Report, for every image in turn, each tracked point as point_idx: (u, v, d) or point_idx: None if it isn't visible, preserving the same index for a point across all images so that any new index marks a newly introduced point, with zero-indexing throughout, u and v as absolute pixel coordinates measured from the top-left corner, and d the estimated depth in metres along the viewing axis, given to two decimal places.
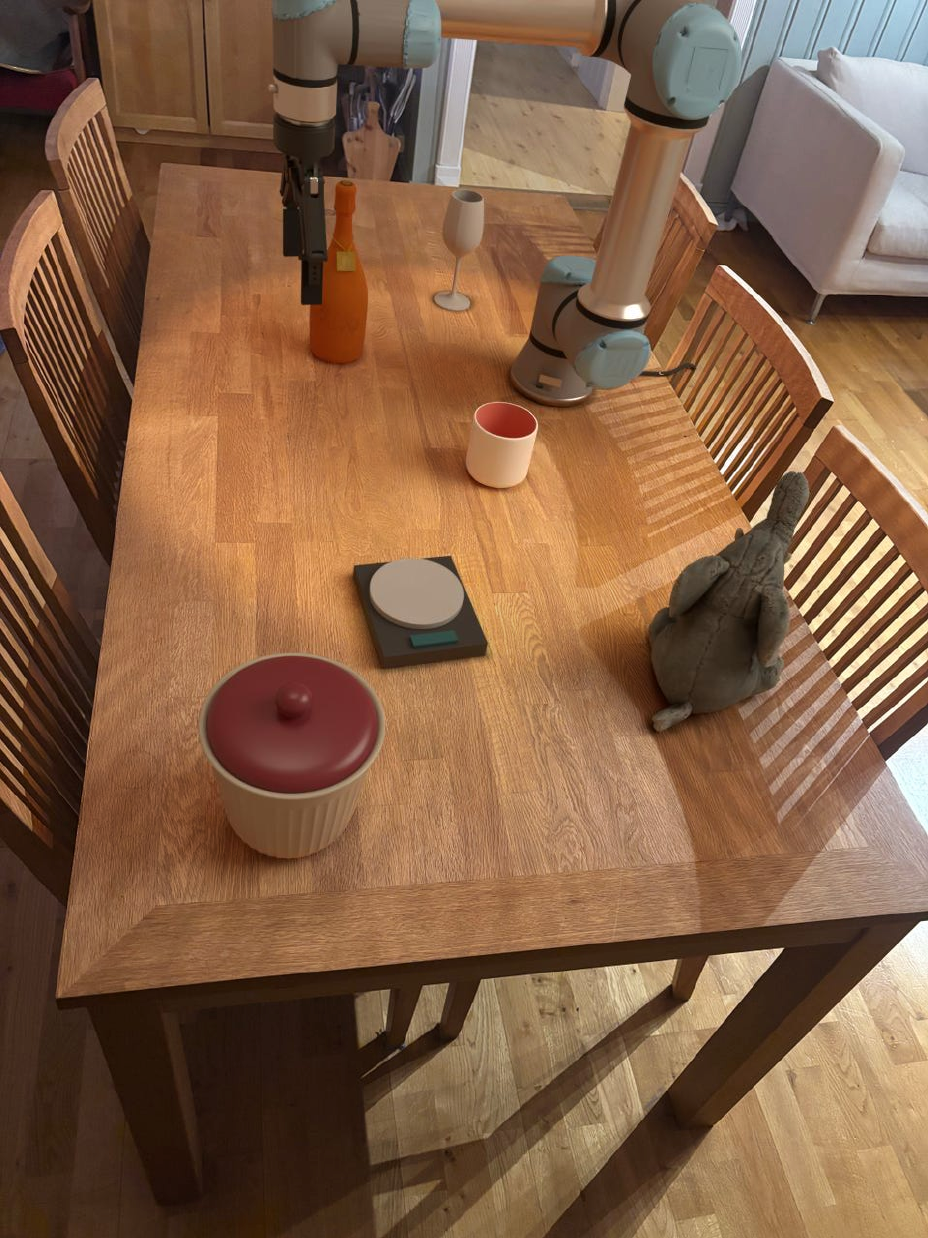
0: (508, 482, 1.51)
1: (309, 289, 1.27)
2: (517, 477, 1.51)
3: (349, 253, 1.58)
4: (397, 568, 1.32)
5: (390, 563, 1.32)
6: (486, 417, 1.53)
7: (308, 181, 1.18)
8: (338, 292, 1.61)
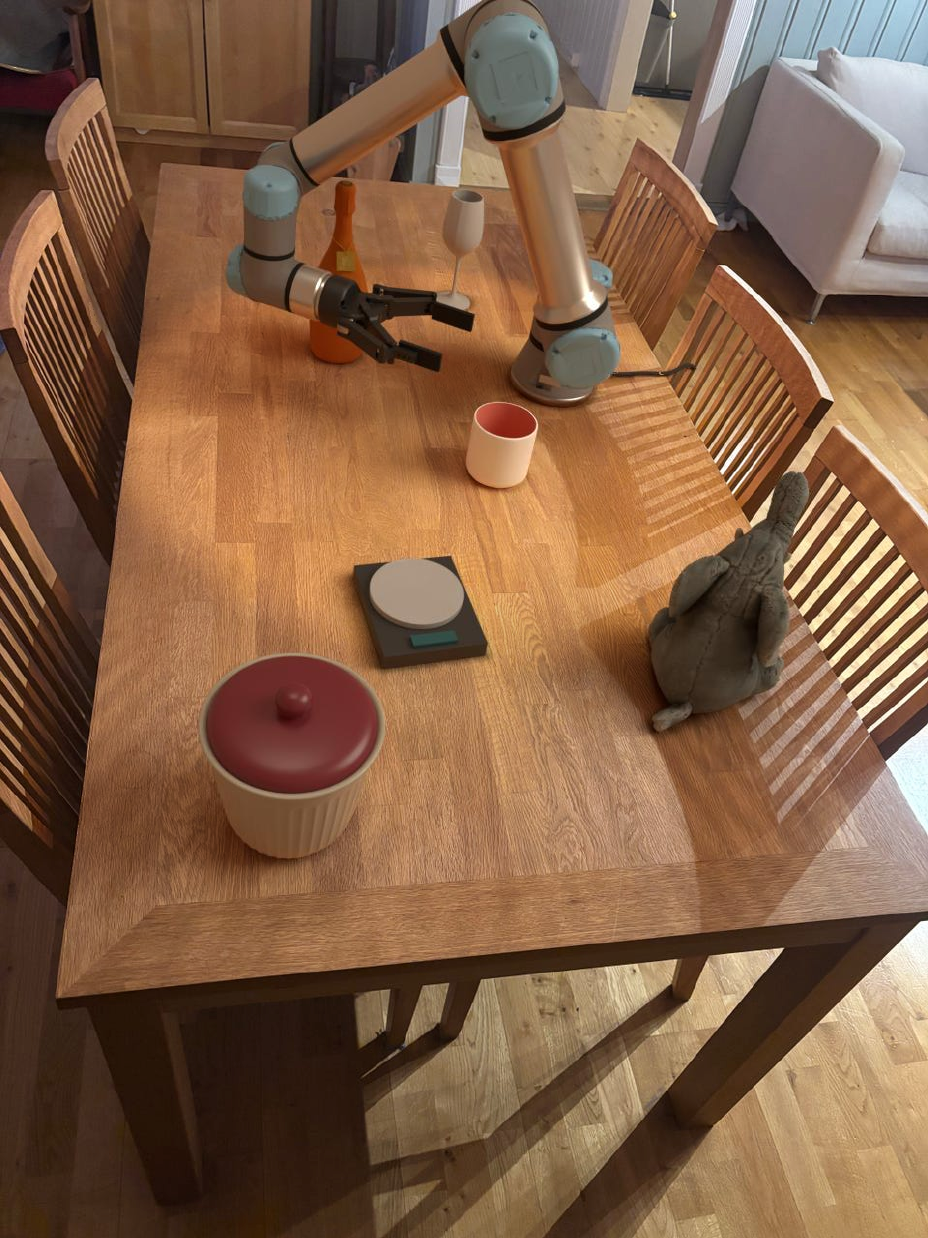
0: (508, 482, 1.51)
1: (425, 361, 1.38)
2: (517, 477, 1.51)
3: (349, 253, 1.58)
4: (397, 568, 1.32)
5: (390, 563, 1.32)
6: (486, 417, 1.53)
7: (338, 332, 1.41)
8: None
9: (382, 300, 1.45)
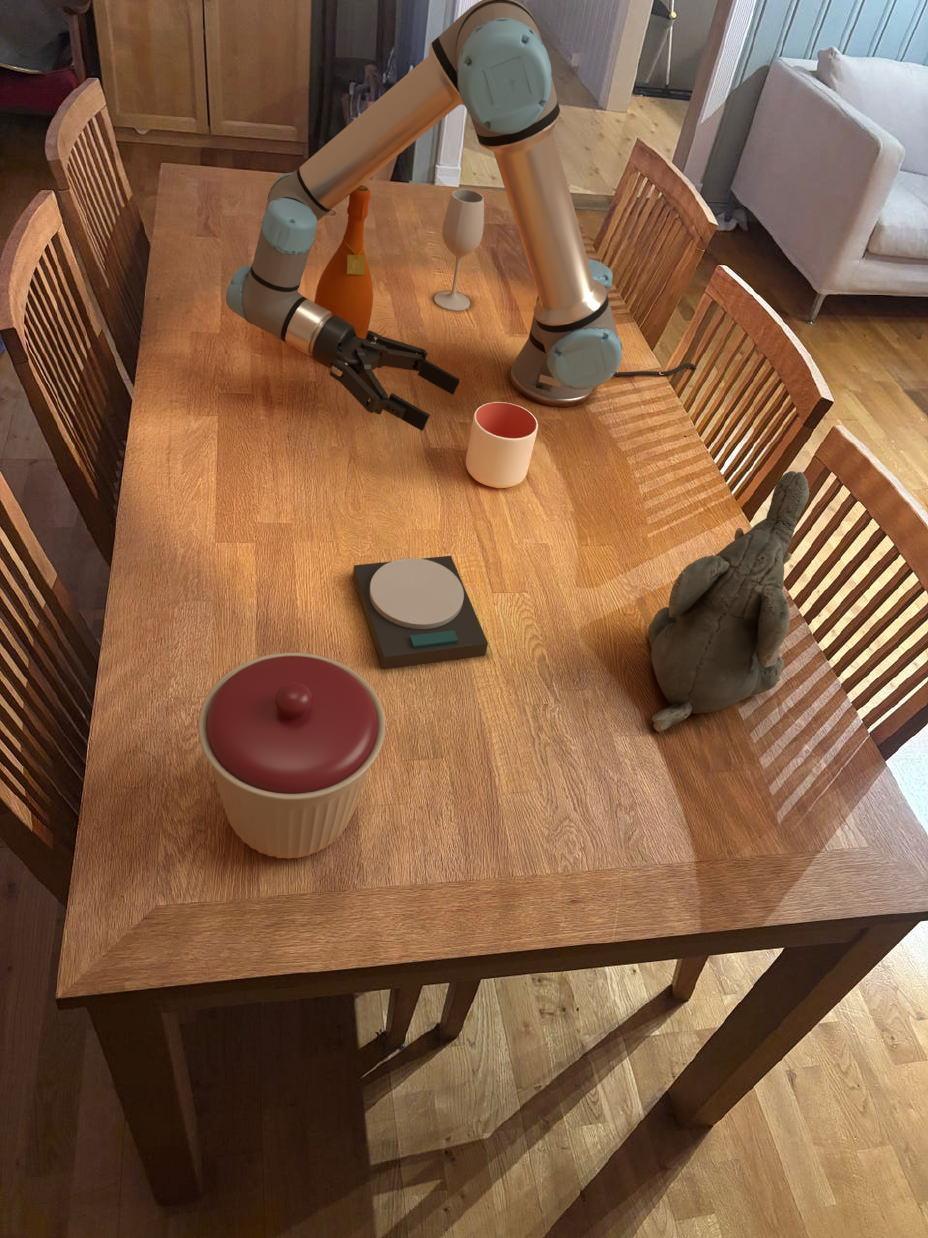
0: (508, 482, 1.51)
1: (411, 418, 1.44)
2: (517, 477, 1.51)
3: (359, 257, 1.58)
4: (397, 568, 1.32)
5: (390, 563, 1.32)
6: (486, 417, 1.53)
7: (331, 372, 1.44)
8: (346, 294, 1.61)
9: (376, 349, 1.50)
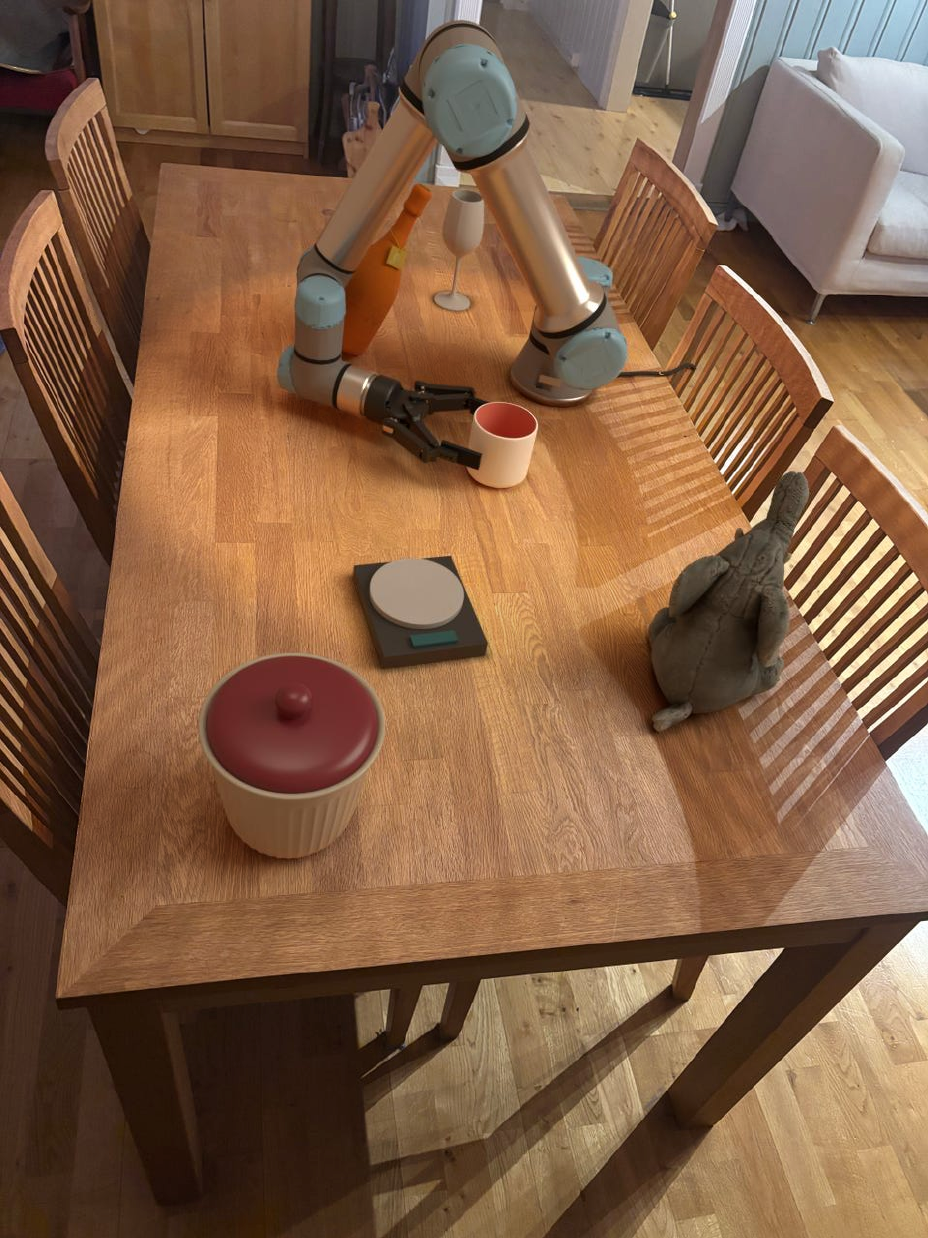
0: (508, 482, 1.51)
1: (465, 460, 1.47)
2: (517, 477, 1.51)
3: (402, 251, 1.62)
4: (397, 568, 1.32)
5: (390, 563, 1.32)
6: (486, 417, 1.53)
7: (383, 431, 1.50)
8: (379, 283, 1.63)
9: (424, 398, 1.54)
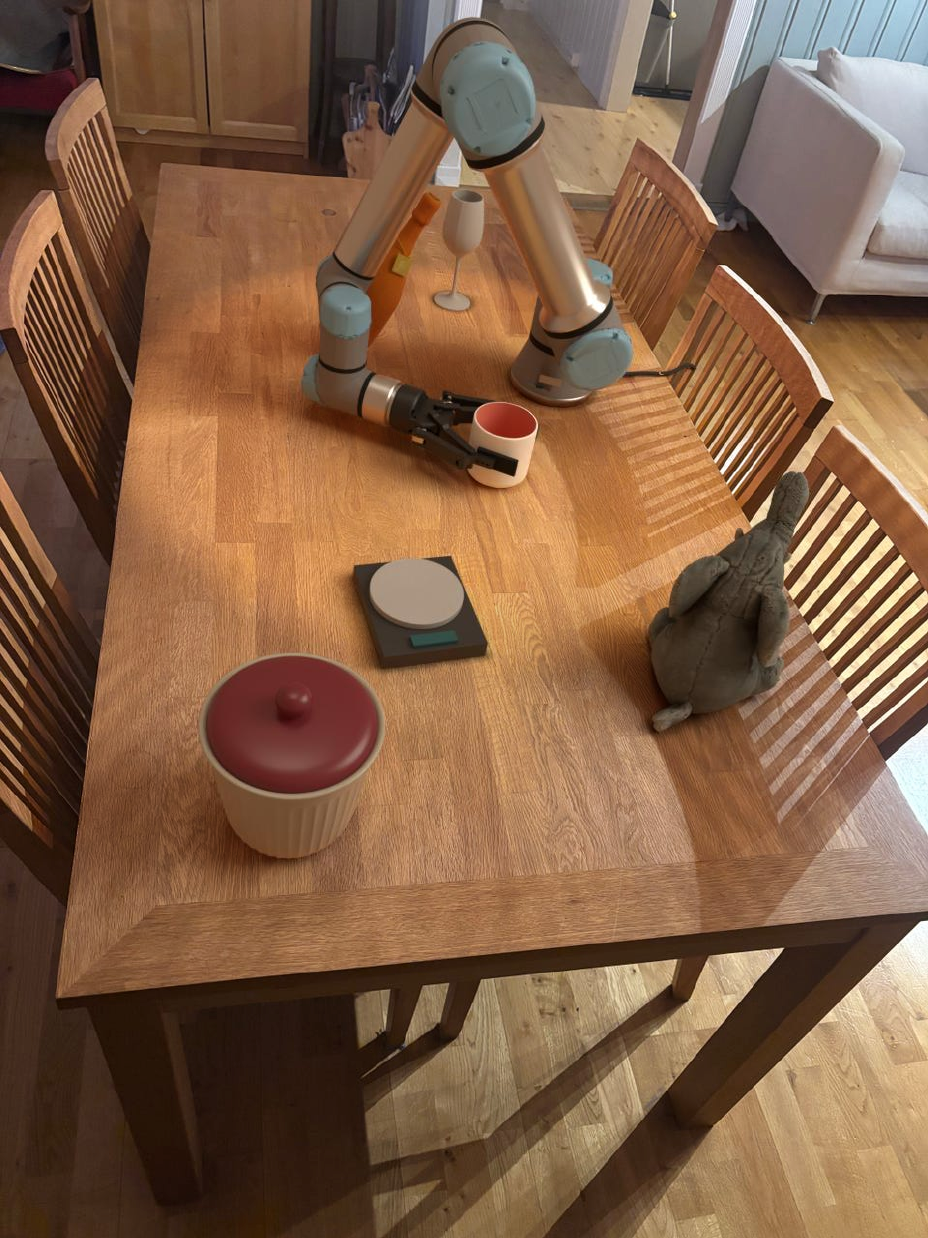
0: (508, 482, 1.51)
1: (501, 467, 1.47)
2: (517, 477, 1.51)
3: (408, 259, 1.61)
4: (397, 568, 1.32)
5: (390, 563, 1.32)
6: (486, 417, 1.53)
7: (413, 442, 1.49)
8: (383, 290, 1.62)
9: None
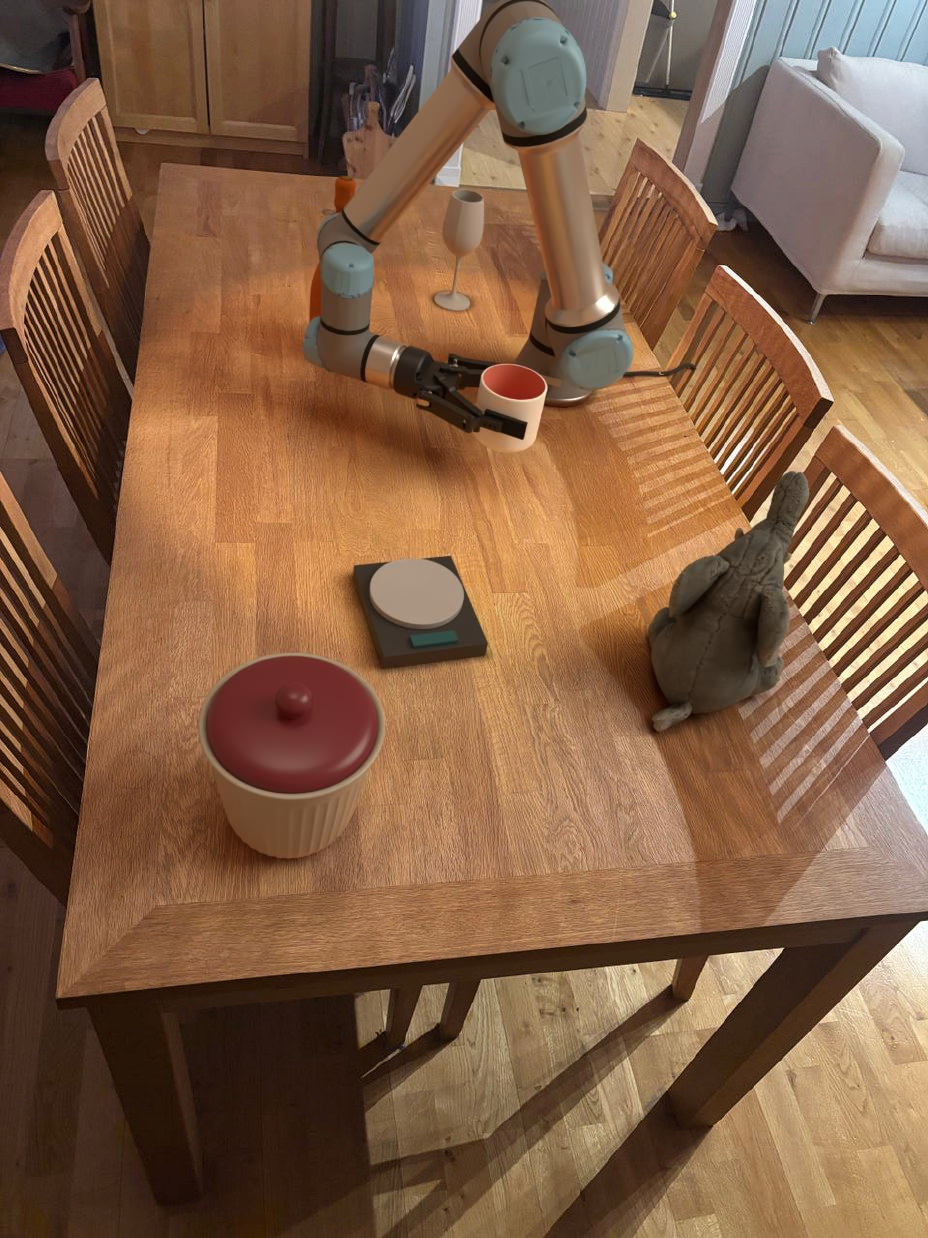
0: (516, 447, 1.46)
1: (510, 429, 1.43)
2: (526, 441, 1.47)
3: None
4: (397, 568, 1.32)
5: (390, 563, 1.32)
6: (493, 380, 1.48)
7: (418, 405, 1.44)
8: None
9: None
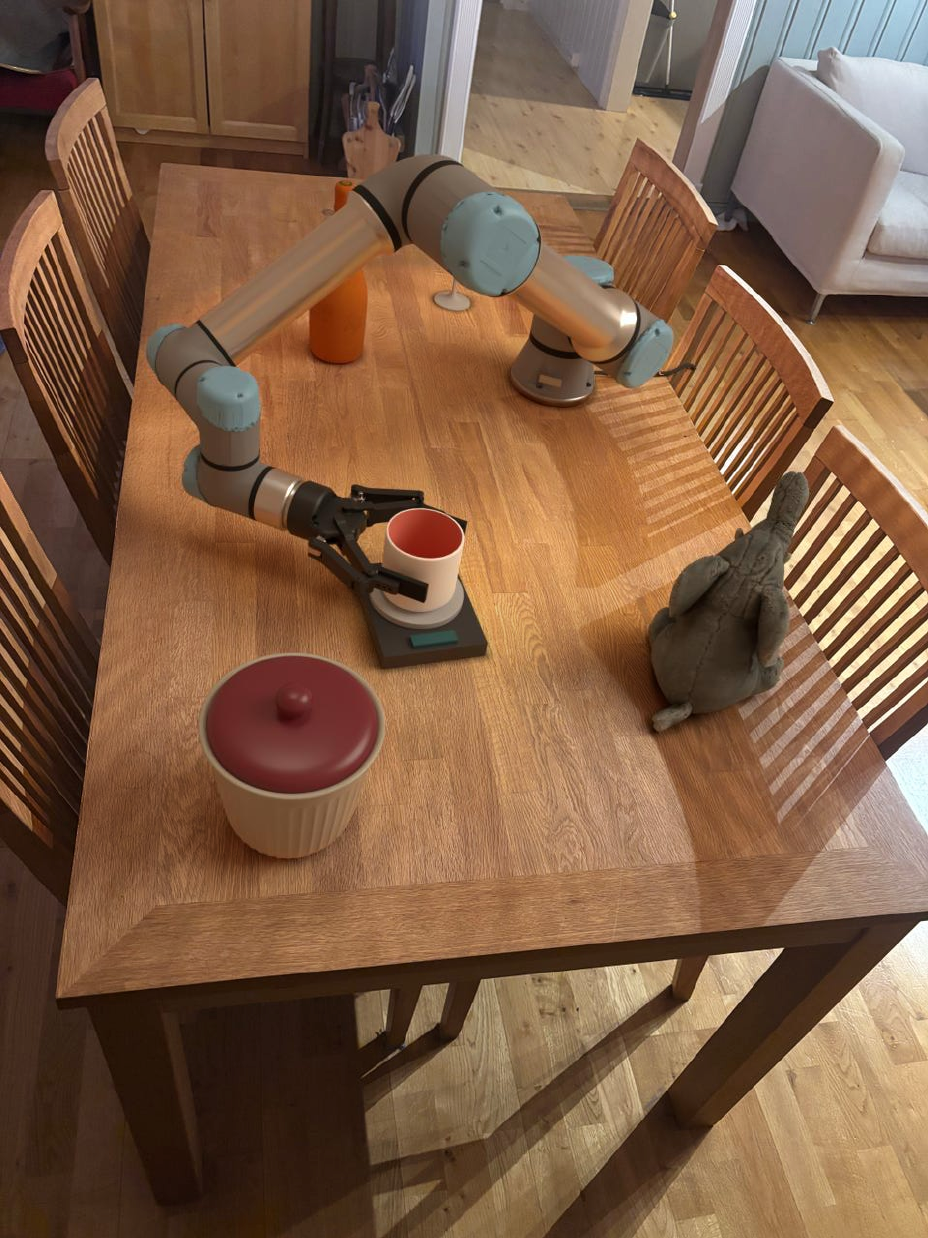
0: (430, 607, 1.25)
1: (408, 591, 1.20)
2: (441, 599, 1.25)
3: None
4: None
5: None
6: (404, 526, 1.26)
7: (309, 553, 1.22)
8: (341, 292, 1.61)
9: (360, 509, 1.26)
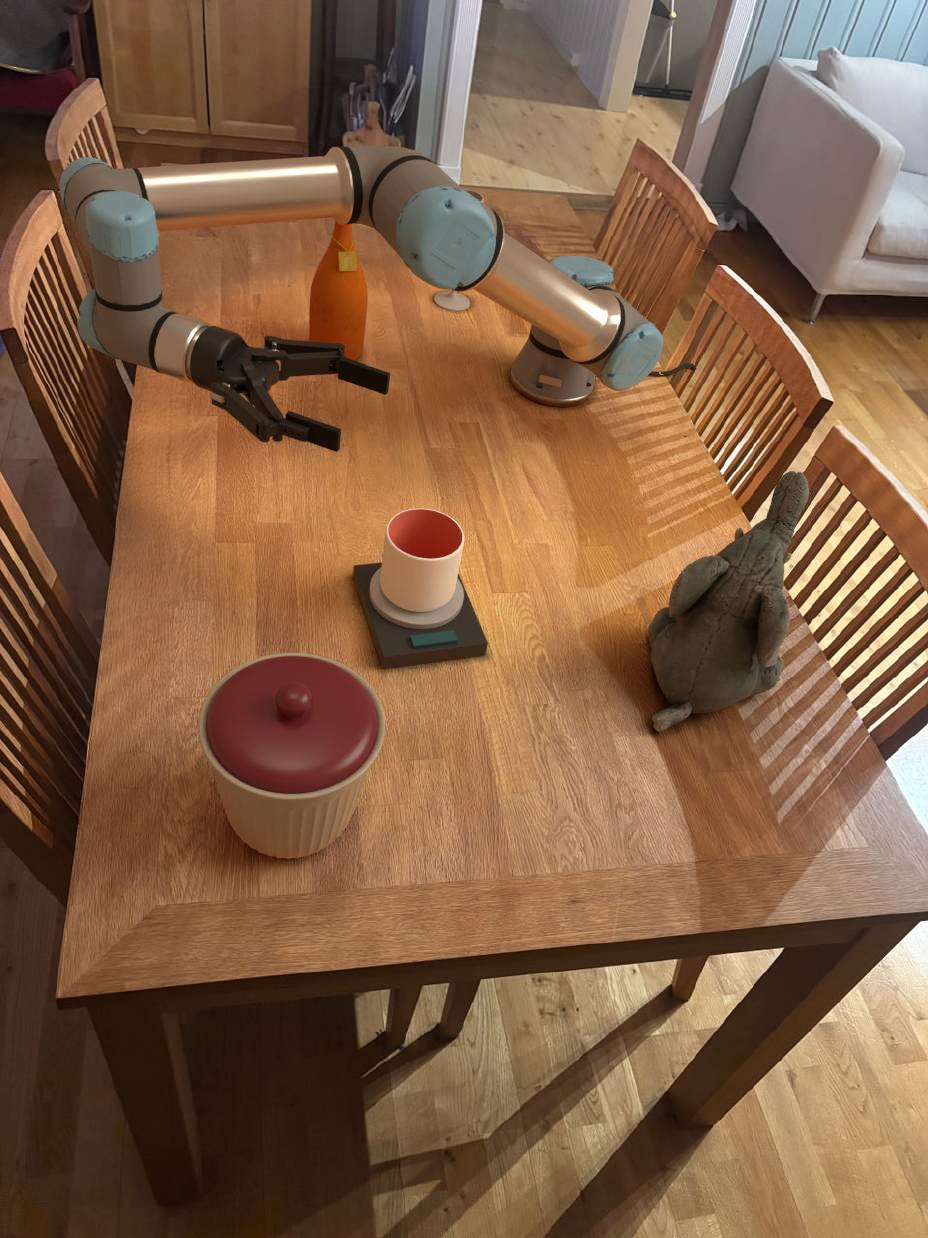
0: (430, 607, 1.25)
1: (319, 438, 1.09)
2: (441, 599, 1.25)
3: (350, 253, 1.58)
4: None
5: None
6: (404, 526, 1.26)
7: (213, 400, 1.12)
8: (341, 292, 1.61)
9: (272, 358, 1.16)
